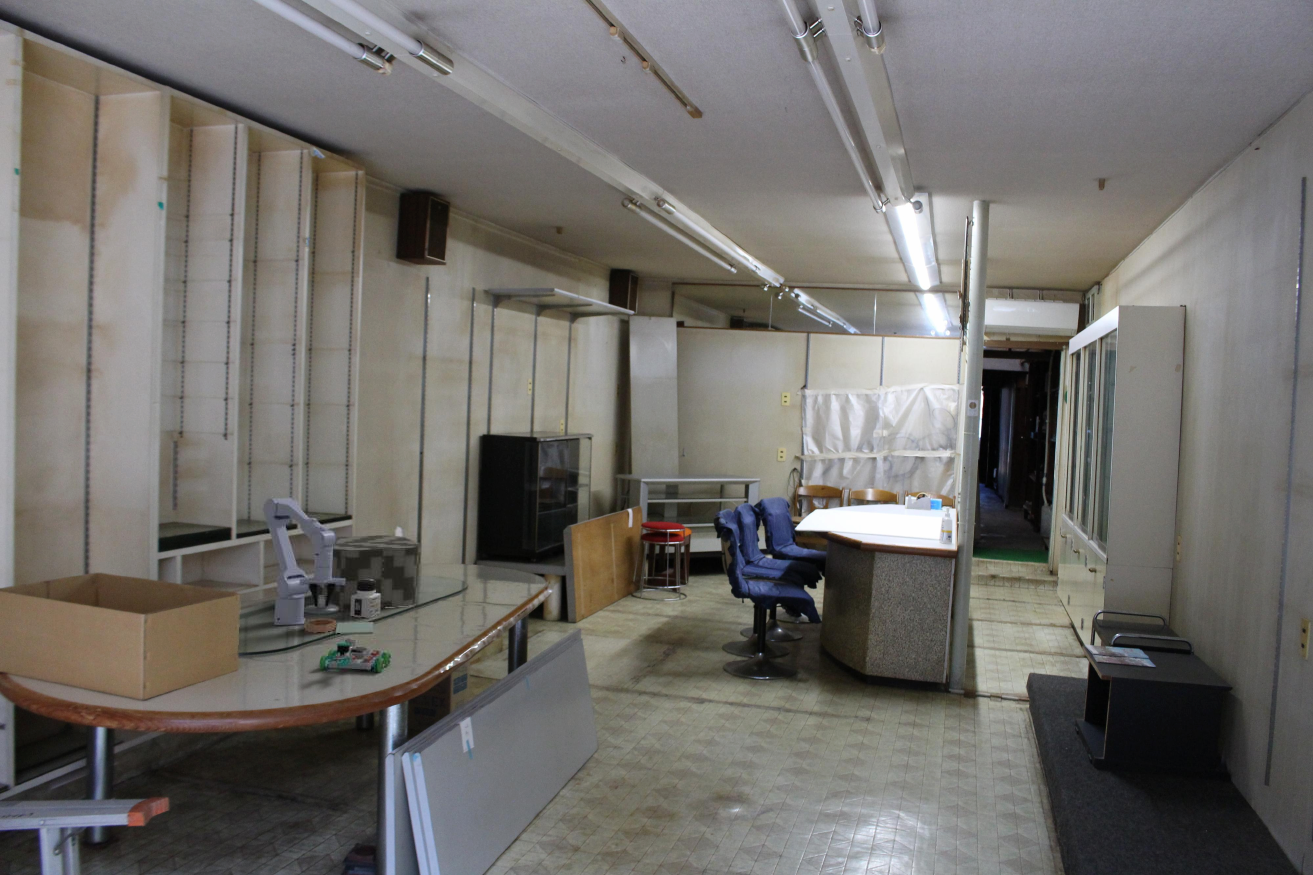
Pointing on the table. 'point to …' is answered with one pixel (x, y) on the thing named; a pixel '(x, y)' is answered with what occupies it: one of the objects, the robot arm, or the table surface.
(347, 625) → the mat
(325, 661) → the robot kit
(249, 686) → the table surface
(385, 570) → the storage box
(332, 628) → the bowl
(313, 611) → the lid
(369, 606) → the container
